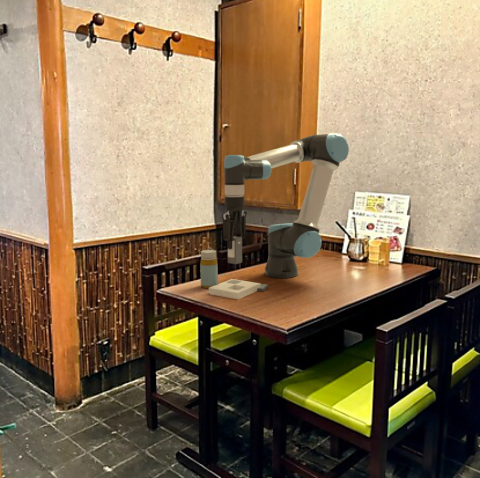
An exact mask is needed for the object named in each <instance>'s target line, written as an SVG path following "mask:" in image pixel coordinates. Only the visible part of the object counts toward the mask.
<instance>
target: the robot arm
mask: <svg viewBox="0 0 480 478" xmlns="http://www.w3.org/2000/svg"><path fill="white" fill-rule="evenodd" d="M349 148H350V147H349V143H348V141H347V138H345V137H344V136H343V135H342V134H340V133H327V134H326V133H325V134H324V133H323V134H312V135H309V136H305V137H302V138H301V139H300V138H299V139H297V140H294V141H292V142H290V144H288V145H285V146H281V147H278V148H275V149H271V150H267V151H263V152H260V153H257V154H253V155H251V156H244V155H243V154H228V155H225V156H224V161H223V163H224V165H223V170H224V171H223V172H224V176H223V177H224V179H223V180H224V195H225V197H224V206H225V207H226V211H225V213H222V214H221V218H222V233H223V235H222V237H223V240H224V241H227V244H226V245H227V247H226V249H227V258H228V257H232V258H234V257H235V241H233V237H234V236H237V237H242V240H243V239H245V236H246V234H247V233H246V232H247V231H246V228H247V227H246V226H247V225H246V224H247V223H246V222H247V221H246V220H247V219H246V218H247V214H248V212H247V211H246V210H244V209H243V207H244V206H245V181H247V180H248V181H250V180H251V181H253V180H261V181H262V180H267V179H269V178H270V176H271V174H272V169H274V168H278V167H281V166H284V165H285V166H286V165H288V164H291V163H296V164H299V163H302V162H311V163H312V166H313V167H312V171H311V173H310V174H311V175H310V177H309V182H308V184H307V188H306V192H305V194H304V199H303V201H302V205H301V209H300V211H299V215H298V218H297V219H296V220H294V221H293V222H291V223H290V222H288V223H278V224H277V223H275V224H270V225H269V226H268V230H267V241H268V258H267V262H266V264H265V267H264V276H266V277H269V278H275V279H289V278H294V277H296V276H299V268H298V265H297V262H296V259H295V256H296V257H299V258H306V259H309V258H310V259H311V258H312V257H314V256H316V255H317V254H318V253H319V251H320V250H321V248H322V242H323V241H322V235H321V234H320V227H319V225H318V224H319V221H320V218H321V214H322V211H323V207H324V204H325V200H326V198H327V194H328V192H329V191H328V190H329V187H330V183H331V181H332V178H333V173H334V172H335V171H336V170H338V169H339V166H340V163H341V162H344V161H345V160H346V159H347V158H348V155H349V151H350V149H349Z"/></svg>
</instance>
